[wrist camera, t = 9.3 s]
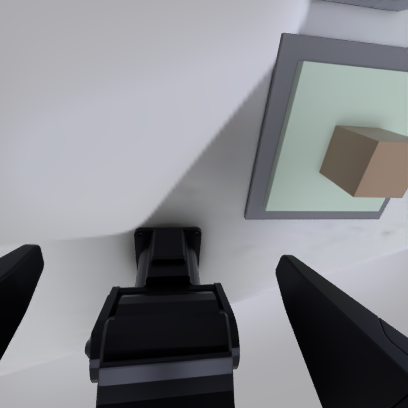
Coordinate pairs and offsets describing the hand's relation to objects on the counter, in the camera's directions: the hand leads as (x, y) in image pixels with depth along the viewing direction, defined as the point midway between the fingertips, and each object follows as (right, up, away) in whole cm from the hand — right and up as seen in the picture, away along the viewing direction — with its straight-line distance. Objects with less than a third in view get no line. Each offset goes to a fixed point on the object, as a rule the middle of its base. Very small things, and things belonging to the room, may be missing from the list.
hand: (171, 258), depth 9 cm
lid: (+13, +7, +12) cm, 19 cm away
